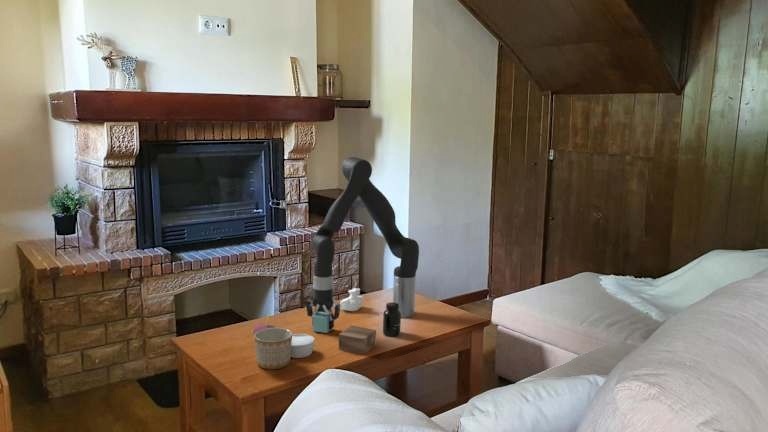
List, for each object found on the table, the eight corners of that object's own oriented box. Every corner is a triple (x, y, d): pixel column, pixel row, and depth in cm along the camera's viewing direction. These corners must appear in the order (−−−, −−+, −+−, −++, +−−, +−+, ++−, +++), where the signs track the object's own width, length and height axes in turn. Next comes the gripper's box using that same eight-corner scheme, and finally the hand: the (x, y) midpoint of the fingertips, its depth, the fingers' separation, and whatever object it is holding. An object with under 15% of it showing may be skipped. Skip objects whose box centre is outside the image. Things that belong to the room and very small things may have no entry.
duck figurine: (341, 317, 258) (350, 302, 251) (333, 303, 262) (342, 287, 255) (364, 312, 265) (373, 297, 258) (356, 298, 269) (365, 283, 262)
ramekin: (313, 346, 221) (313, 332, 220) (316, 358, 210) (316, 344, 209) (282, 348, 219) (281, 334, 218) (283, 360, 208) (283, 346, 207)
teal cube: (319, 325, 240) (319, 311, 239) (333, 327, 238) (333, 313, 237) (312, 330, 235) (312, 316, 234) (327, 333, 233) (327, 318, 232)
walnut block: (351, 340, 228) (351, 325, 226) (375, 345, 224) (375, 330, 222) (338, 350, 219) (338, 334, 217) (363, 355, 215) (363, 339, 213)
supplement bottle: (398, 337, 231) (399, 307, 229) (381, 336, 232) (381, 306, 230) (401, 331, 238) (402, 302, 235) (384, 329, 239) (385, 300, 237)
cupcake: (280, 340, 226) (280, 309, 224) (268, 348, 218) (268, 316, 216) (260, 337, 229) (259, 306, 226) (248, 345, 221) (247, 313, 219)
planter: (248, 361, 207) (248, 332, 205) (282, 353, 214) (282, 325, 212) (264, 374, 197) (263, 344, 195) (298, 365, 204) (298, 336, 202)
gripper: (344, 285, 235) (343, 327, 238) (310, 281, 239) (310, 322, 242) (336, 291, 228) (336, 333, 231) (301, 287, 232) (302, 328, 235)
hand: (323, 327), depth 236 cm, fingers closed on teal cube, 6 cm apart
